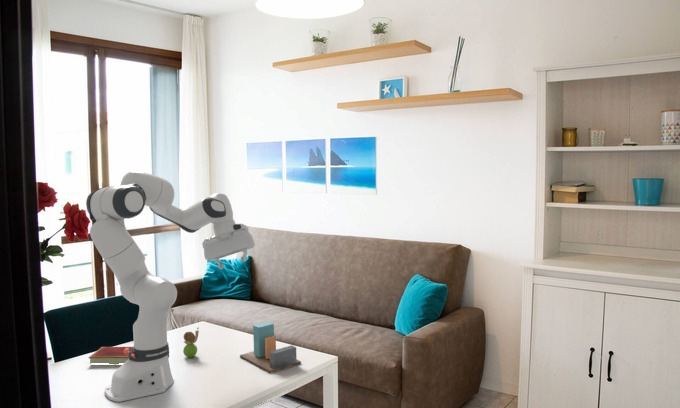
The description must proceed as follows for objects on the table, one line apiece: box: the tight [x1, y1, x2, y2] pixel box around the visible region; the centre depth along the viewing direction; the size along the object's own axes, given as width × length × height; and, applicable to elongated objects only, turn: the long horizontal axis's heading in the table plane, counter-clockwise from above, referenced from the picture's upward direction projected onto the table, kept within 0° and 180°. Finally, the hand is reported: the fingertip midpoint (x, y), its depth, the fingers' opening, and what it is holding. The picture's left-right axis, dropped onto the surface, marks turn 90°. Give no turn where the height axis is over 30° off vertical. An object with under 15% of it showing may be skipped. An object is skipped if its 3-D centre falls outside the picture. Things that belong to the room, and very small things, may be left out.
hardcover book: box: [88, 346, 133, 365], centre depth 211 cm, size 12×21×4 cm, turn 90°
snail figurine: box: [182, 326, 200, 358], centre depth 213 cm, size 5×6×12 cm
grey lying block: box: [270, 345, 298, 370], centre depth 200 cm, size 10×3×6 cm, turn 130°
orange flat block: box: [265, 335, 277, 359], centre depth 208 cm, size 9×2×8 cm, turn 130°
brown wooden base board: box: [239, 350, 302, 374], centre depth 208 cm, size 14×22×1 cm, turn 40°
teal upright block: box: [252, 321, 275, 358], centre depth 210 cm, size 7×6×12 cm
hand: (232, 264), depth 209 cm, fingers open, 8 cm apart
